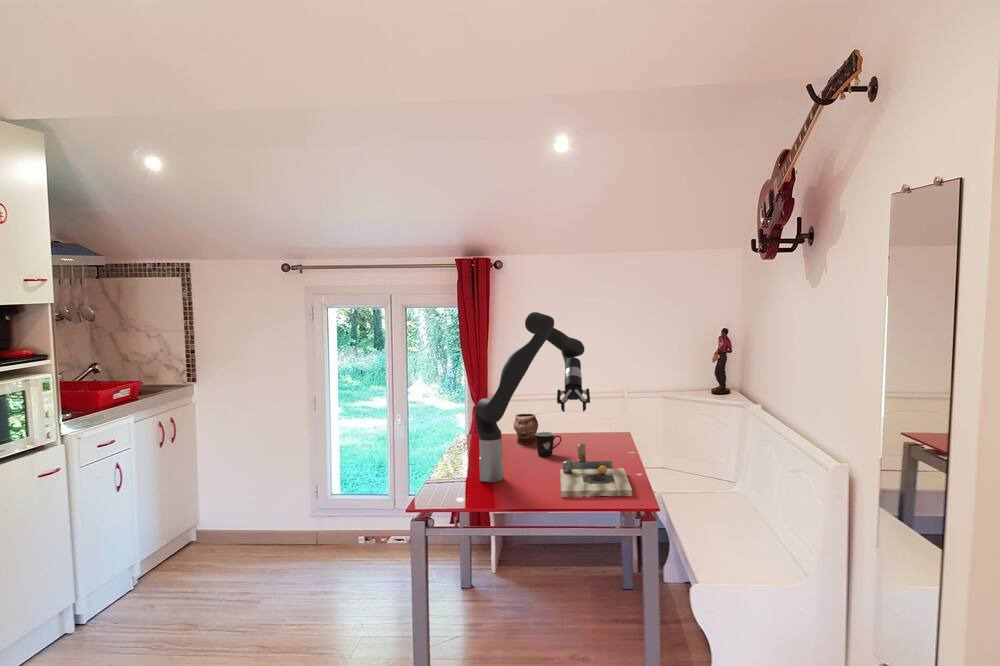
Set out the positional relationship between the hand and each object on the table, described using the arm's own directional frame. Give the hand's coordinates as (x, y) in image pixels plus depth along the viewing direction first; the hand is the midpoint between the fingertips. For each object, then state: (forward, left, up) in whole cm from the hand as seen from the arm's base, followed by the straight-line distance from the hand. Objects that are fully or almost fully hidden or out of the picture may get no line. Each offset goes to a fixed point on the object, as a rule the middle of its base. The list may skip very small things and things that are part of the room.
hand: (573, 410), depth 283 cm
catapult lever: (+4, -16, -22) cm, 28 cm away
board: (+6, -26, -25) cm, 36 cm away
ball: (+10, -19, -20) cm, 30 cm away
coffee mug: (-12, +20, -25) cm, 34 cm away
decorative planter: (-23, +47, -25) cm, 57 cm away
